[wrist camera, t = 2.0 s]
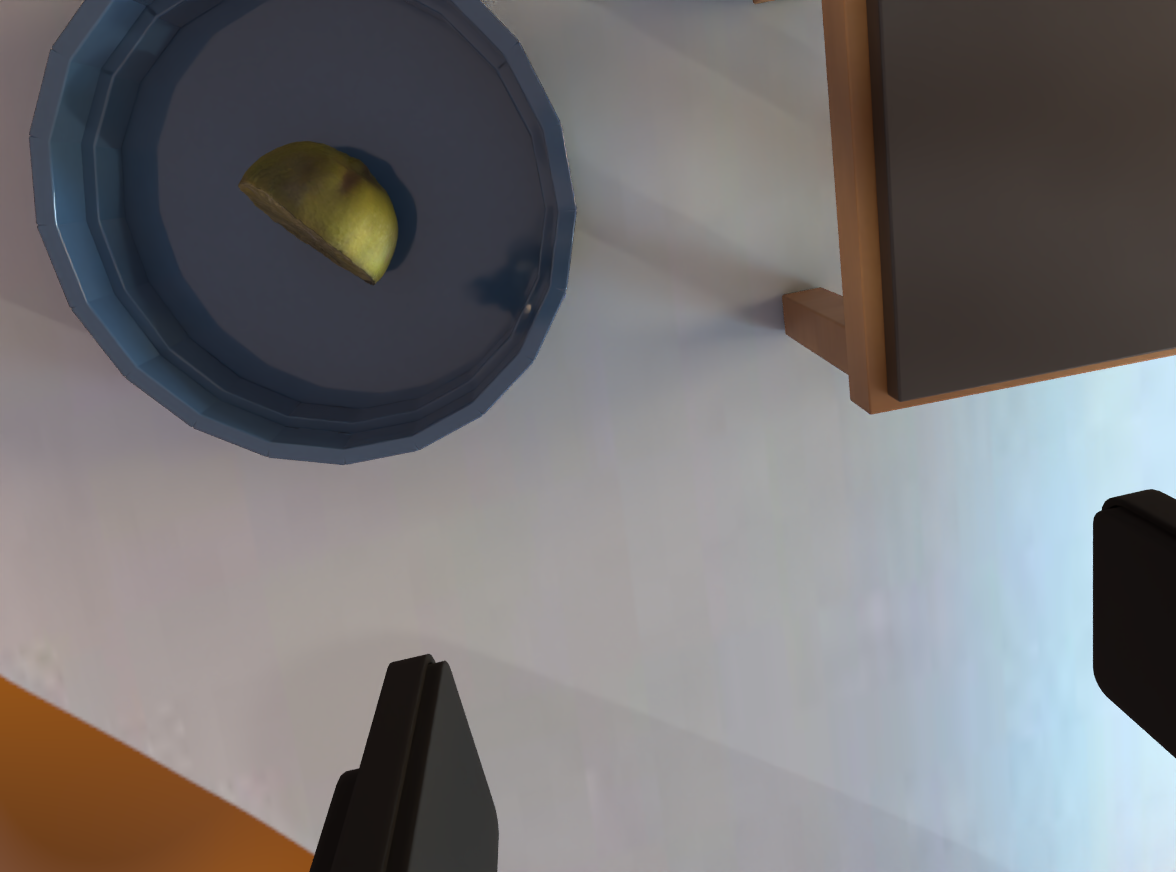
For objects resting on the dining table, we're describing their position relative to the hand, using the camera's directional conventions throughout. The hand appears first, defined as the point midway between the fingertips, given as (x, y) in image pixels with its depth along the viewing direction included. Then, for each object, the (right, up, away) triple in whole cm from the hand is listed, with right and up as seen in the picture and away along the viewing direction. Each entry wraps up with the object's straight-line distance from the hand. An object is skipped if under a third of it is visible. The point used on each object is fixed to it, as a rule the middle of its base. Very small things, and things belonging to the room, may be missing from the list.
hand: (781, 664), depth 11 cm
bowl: (-11, +11, +17) cm, 23 cm away
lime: (-11, +11, +16) cm, 23 cm away
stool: (+10, +15, +17) cm, 25 cm away
